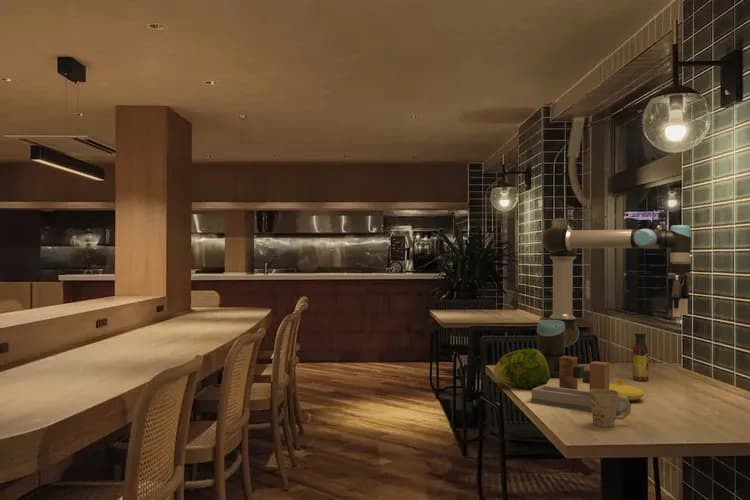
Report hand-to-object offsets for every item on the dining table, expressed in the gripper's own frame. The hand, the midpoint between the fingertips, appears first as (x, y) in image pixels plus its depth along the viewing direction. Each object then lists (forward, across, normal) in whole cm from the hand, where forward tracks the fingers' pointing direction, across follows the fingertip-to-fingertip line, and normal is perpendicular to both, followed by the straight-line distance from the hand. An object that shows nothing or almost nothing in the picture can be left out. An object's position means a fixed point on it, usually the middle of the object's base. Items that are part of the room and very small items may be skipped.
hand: (680, 315), depth 259 cm
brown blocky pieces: (+28, -64, +19) cm, 73 cm away
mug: (+28, -82, +3) cm, 87 cm away
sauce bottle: (+28, 0, +15) cm, 32 cm away
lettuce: (+28, -46, +48) cm, 72 cm away
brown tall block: (+28, -49, +27) cm, 63 cm away
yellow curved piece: (+28, -43, +11) cm, 53 cm away
